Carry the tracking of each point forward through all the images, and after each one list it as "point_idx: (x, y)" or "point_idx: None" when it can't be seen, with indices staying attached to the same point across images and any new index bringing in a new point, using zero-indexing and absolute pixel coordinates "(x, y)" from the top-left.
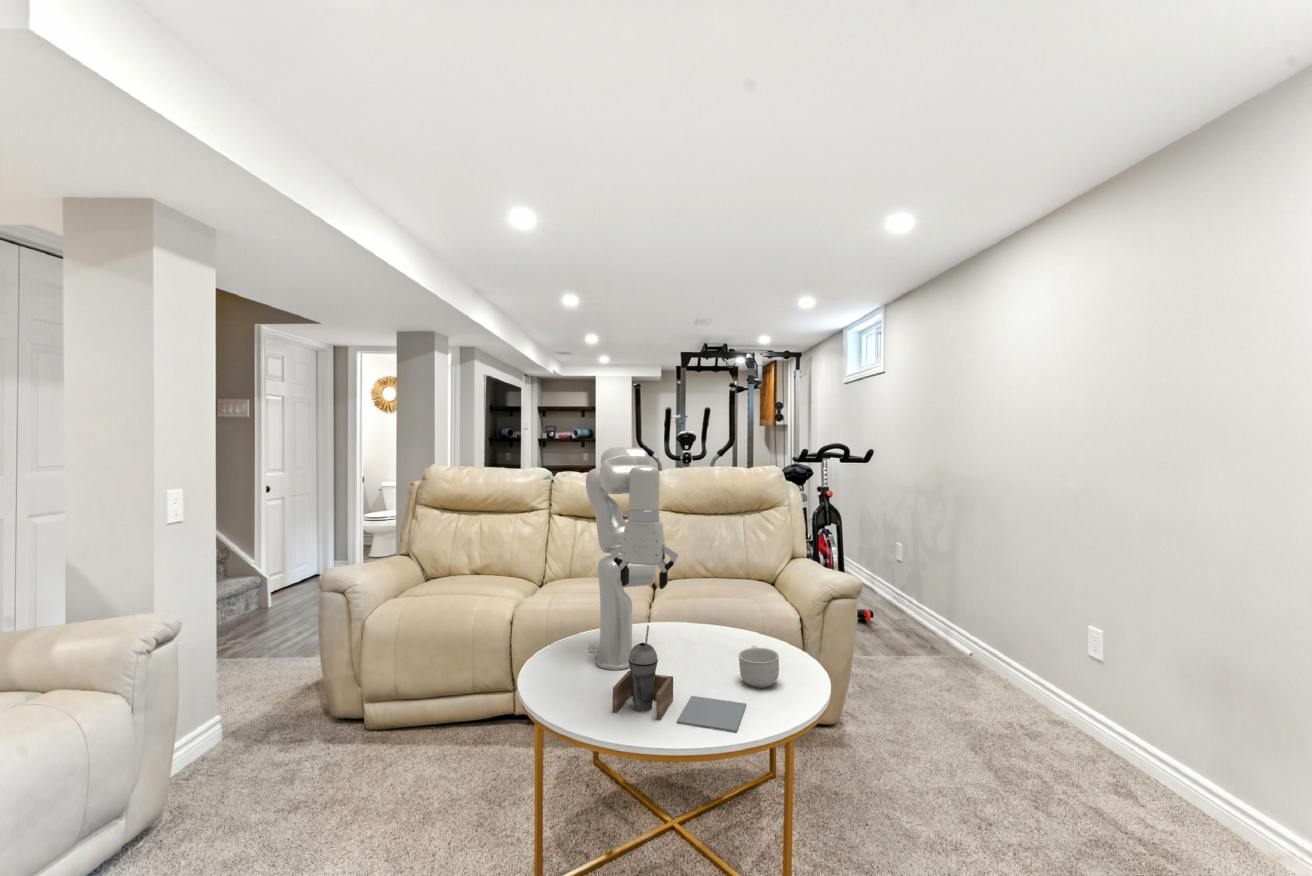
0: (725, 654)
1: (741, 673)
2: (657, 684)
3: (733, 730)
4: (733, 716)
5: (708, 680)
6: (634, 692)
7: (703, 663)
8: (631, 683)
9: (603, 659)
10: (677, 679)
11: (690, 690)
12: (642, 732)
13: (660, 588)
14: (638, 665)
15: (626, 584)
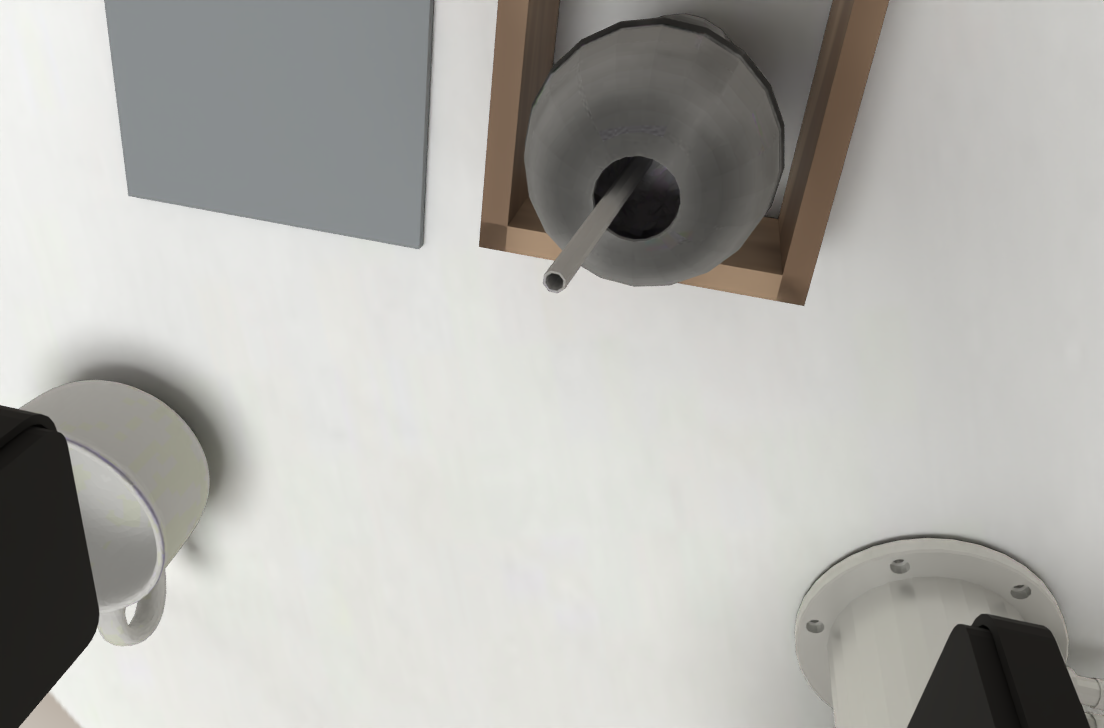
0: (360, 715)
1: (183, 447)
2: None
3: None
4: (147, 27)
5: (378, 451)
6: (724, 36)
7: (441, 627)
8: (775, 245)
9: (1009, 611)
10: (538, 451)
11: (445, 331)
12: None
13: (29, 413)
14: (672, 22)
15: (921, 705)
